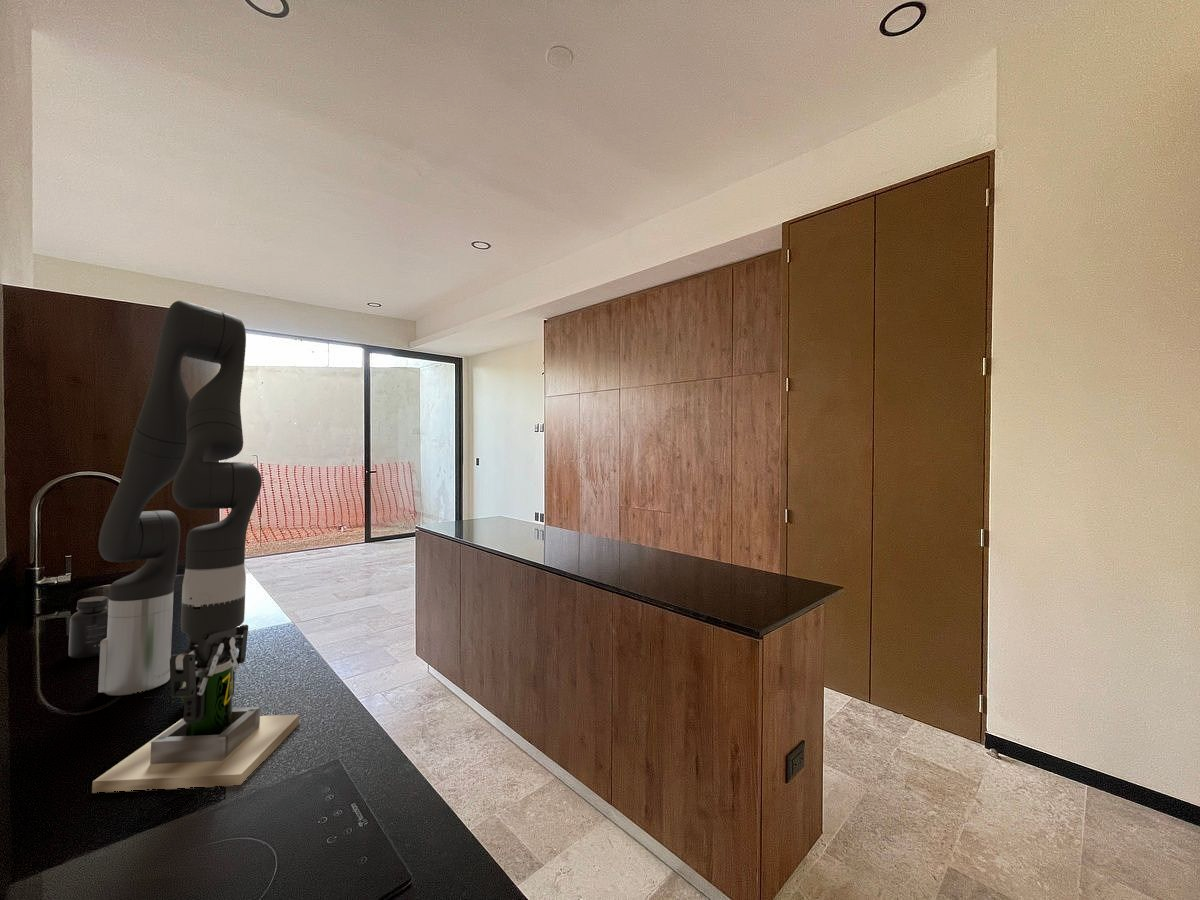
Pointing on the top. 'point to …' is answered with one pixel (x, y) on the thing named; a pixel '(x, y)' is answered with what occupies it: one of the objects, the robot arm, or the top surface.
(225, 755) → the collar board
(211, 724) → the beer can
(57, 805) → the top surface
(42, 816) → the top surface
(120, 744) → the top surface
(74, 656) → the supplement bottle
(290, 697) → the top surface
